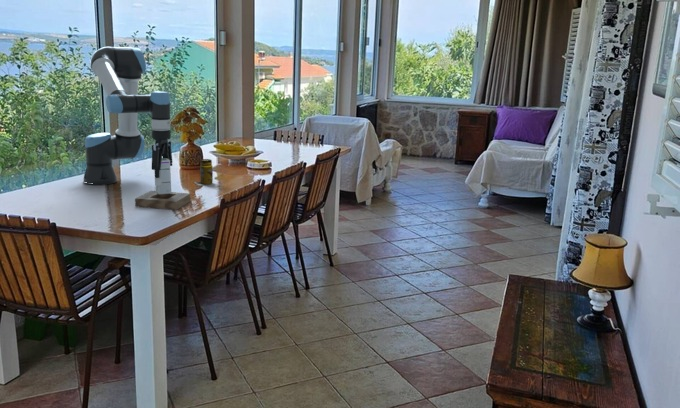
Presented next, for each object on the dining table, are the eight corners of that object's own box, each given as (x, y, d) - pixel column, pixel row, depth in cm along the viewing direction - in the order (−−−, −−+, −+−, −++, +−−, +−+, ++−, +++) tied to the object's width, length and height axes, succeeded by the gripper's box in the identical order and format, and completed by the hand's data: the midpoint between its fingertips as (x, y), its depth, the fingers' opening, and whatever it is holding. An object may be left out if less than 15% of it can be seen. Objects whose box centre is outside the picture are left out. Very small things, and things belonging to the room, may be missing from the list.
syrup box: (171, 193, 252) (170, 159, 248) (157, 194, 249) (156, 160, 245) (169, 190, 256) (168, 157, 253) (154, 191, 254) (153, 158, 250)
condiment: (215, 184, 294) (215, 160, 291) (199, 185, 290) (198, 161, 287) (210, 181, 300) (209, 158, 297) (193, 182, 296) (193, 159, 293)
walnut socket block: (135, 206, 248) (135, 198, 247) (151, 198, 262) (151, 190, 261) (176, 209, 245) (176, 201, 245) (190, 201, 260) (190, 193, 259)
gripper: (158, 133, 236) (160, 188, 241) (179, 127, 255) (181, 178, 261) (141, 131, 237) (143, 187, 242) (163, 126, 256) (164, 177, 262)
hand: (162, 182), depth 252 cm, fingers closed on syrup box, 8 cm apart
